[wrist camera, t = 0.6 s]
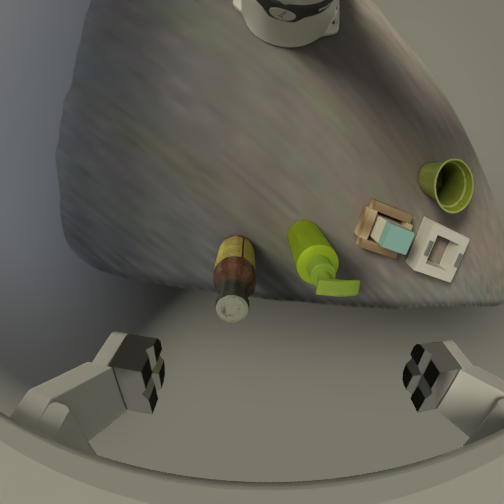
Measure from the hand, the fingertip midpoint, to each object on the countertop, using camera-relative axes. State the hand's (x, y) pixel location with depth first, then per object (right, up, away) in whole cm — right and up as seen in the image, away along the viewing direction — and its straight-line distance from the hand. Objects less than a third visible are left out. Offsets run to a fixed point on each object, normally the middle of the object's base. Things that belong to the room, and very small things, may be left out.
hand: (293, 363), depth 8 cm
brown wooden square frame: (+23, +8, +42) cm, 49 cm away
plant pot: (+33, +17, +39) cm, 54 cm away
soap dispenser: (+8, +6, +43) cm, 45 cm away
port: (+36, +4, +43) cm, 57 cm away
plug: (+23, +8, +42) cm, 49 cm away
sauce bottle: (-4, +4, +45) cm, 45 cm away
